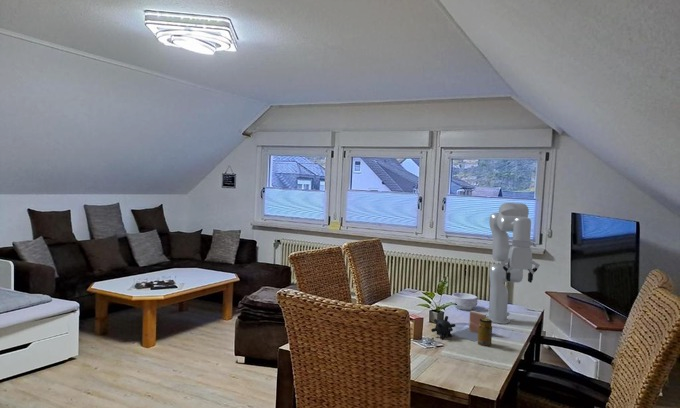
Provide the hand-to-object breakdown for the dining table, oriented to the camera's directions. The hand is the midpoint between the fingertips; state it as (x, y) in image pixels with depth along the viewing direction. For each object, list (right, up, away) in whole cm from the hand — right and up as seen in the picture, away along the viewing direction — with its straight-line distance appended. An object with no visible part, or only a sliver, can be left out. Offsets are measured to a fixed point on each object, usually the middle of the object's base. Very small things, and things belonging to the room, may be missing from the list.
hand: (519, 281), depth 211 cm
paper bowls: (-6, -28, +70) cm, 76 cm away
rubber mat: (-17, -29, +16) cm, 37 cm away
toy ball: (-33, -29, +10) cm, 44 cm away
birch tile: (-14, -29, +18) cm, 37 cm away
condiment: (-15, -30, 0) cm, 34 cm away
